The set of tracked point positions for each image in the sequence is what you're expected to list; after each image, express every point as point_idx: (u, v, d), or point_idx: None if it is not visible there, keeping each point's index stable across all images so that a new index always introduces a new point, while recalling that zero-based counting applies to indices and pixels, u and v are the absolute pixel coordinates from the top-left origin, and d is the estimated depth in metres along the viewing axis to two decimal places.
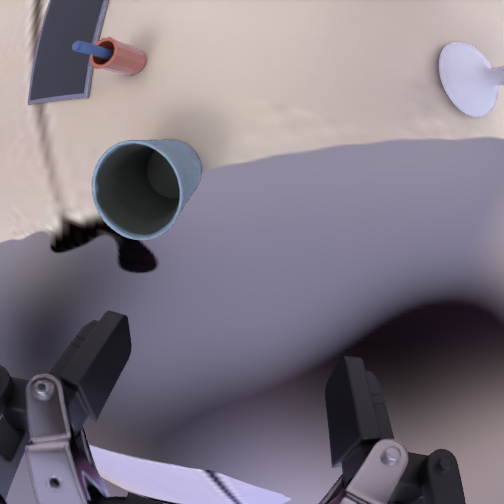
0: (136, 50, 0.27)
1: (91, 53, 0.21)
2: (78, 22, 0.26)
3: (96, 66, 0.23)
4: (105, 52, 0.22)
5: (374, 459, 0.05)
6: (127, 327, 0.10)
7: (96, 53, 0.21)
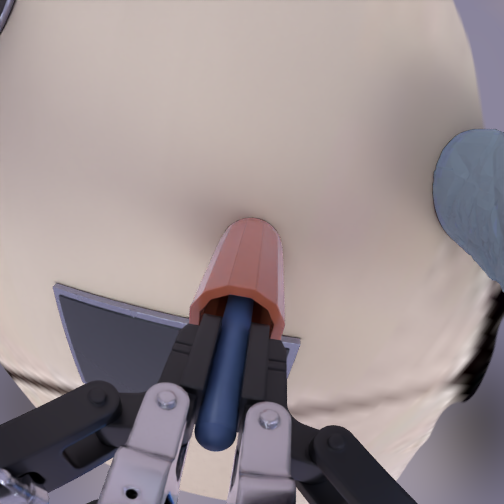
0: (229, 236, 0.16)
1: None
2: (139, 351, 0.23)
3: None
4: (239, 321, 0.11)
5: (252, 428, 0.06)
6: None
7: (243, 353, 0.10)
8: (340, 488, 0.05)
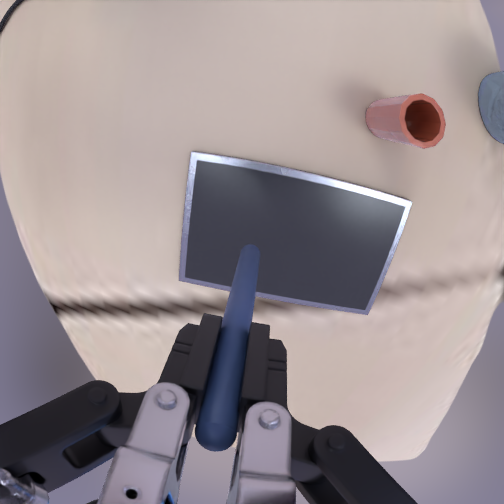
0: (386, 98, 0.20)
1: None
2: (277, 215, 0.27)
3: (440, 136, 0.16)
4: (239, 321, 0.11)
5: (252, 428, 0.06)
6: None
7: (243, 353, 0.10)
8: (340, 488, 0.05)
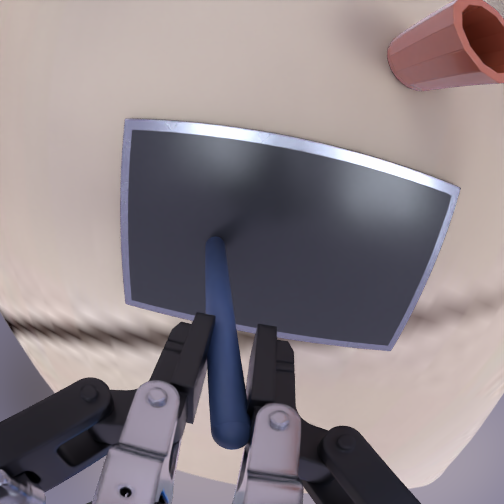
0: None
1: (241, 367, 0.09)
2: (254, 208, 0.17)
3: None
4: (224, 317, 0.11)
5: (262, 429, 0.06)
6: None
7: (236, 348, 0.10)
8: (347, 488, 0.05)
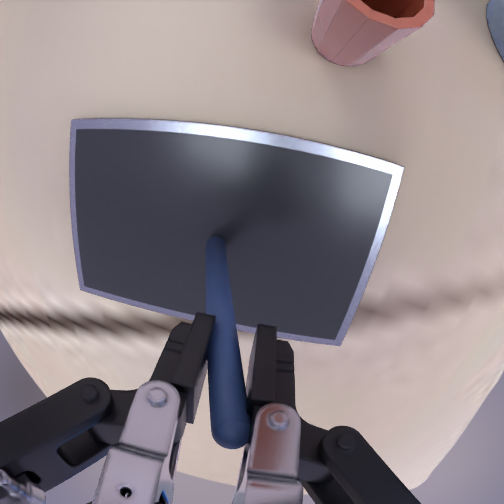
0: None
1: (241, 366, 0.09)
2: (178, 195, 0.17)
3: (428, 13, 0.06)
4: (225, 316, 0.11)
5: (262, 429, 0.06)
6: None
7: (237, 348, 0.10)
8: (347, 488, 0.05)
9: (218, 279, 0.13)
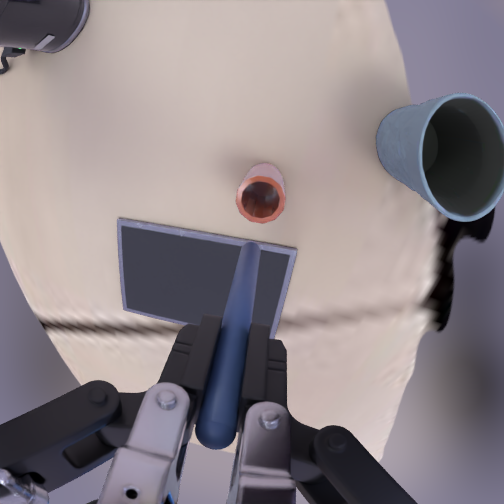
0: (253, 168, 0.27)
1: None
2: (181, 265, 0.34)
3: (279, 210, 0.23)
4: (239, 320, 0.11)
5: (252, 428, 0.06)
6: None
7: (243, 352, 0.10)
8: (340, 488, 0.05)
9: (243, 283, 0.13)
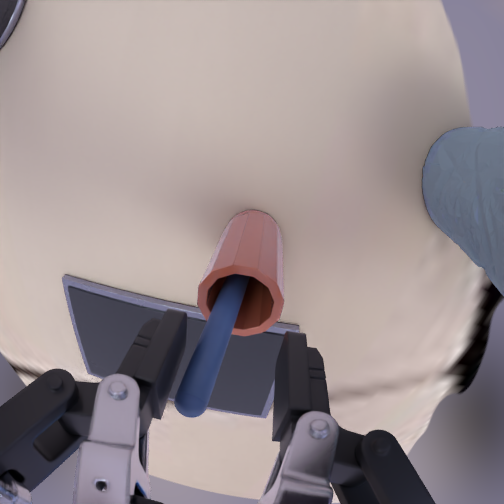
0: (233, 226, 0.17)
1: (222, 353, 0.11)
2: None
3: (273, 320, 0.13)
4: (226, 308, 0.13)
5: (301, 435, 0.06)
6: (186, 324, 0.11)
7: (225, 337, 0.12)
8: (377, 490, 0.05)
9: (236, 274, 0.15)
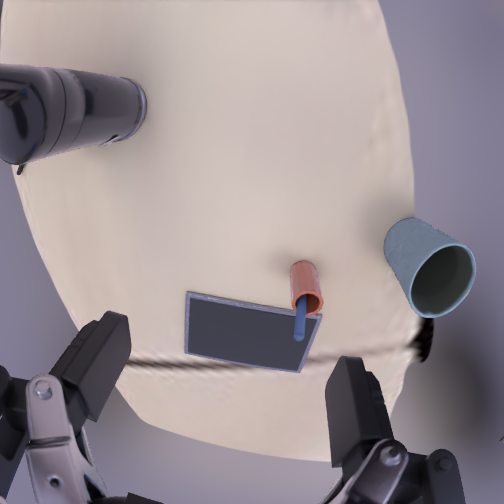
0: (298, 270, 0.39)
1: None
2: (237, 326, 0.47)
3: (319, 309, 0.35)
4: (303, 305, 0.35)
5: (374, 459, 0.05)
6: (127, 327, 0.10)
7: (305, 315, 0.34)
8: (428, 503, 0.04)
9: None
